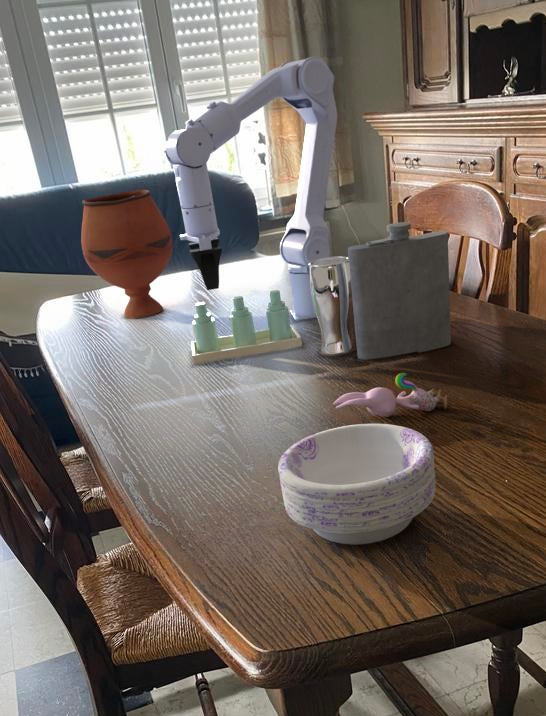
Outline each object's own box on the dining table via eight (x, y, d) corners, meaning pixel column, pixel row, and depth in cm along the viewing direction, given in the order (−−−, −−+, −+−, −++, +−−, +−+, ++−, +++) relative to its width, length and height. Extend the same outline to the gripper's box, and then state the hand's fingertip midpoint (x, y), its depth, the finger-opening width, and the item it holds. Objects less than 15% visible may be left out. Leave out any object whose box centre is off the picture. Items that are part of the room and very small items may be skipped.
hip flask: (446, 339, 125) (442, 213, 115) (455, 346, 122) (452, 216, 112) (355, 357, 123) (343, 230, 113) (362, 364, 119) (351, 233, 110)
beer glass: (330, 361, 123) (320, 267, 115) (311, 352, 128) (300, 262, 121) (366, 350, 125) (359, 258, 118) (345, 342, 131) (337, 254, 123)
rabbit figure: (433, 407, 104) (328, 410, 101) (438, 365, 101) (331, 367, 98) (449, 423, 98) (339, 426, 96) (455, 379, 96) (342, 381, 93)
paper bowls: (285, 497, 83) (275, 431, 79) (421, 478, 83) (417, 412, 79) (290, 572, 70) (278, 498, 66) (452, 551, 70) (449, 475, 66)
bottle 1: (255, 342, 136) (248, 293, 132) (258, 349, 132) (250, 298, 128) (234, 346, 136) (225, 296, 131) (235, 352, 132) (227, 301, 128)
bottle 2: (290, 337, 136) (284, 287, 132) (294, 343, 133) (287, 292, 129) (269, 340, 136) (261, 290, 132) (271, 346, 133) (264, 295, 128)
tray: (295, 334, 139) (293, 324, 138) (302, 348, 131) (301, 337, 130) (192, 351, 138) (190, 341, 137) (194, 366, 129) (191, 355, 129)
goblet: (83, 326, 165) (51, 206, 153) (131, 302, 180) (105, 191, 168) (156, 325, 158) (128, 199, 146) (200, 300, 173) (178, 184, 161)
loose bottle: (220, 349, 135) (211, 299, 131) (221, 355, 132) (212, 304, 128) (198, 352, 135) (188, 302, 131) (199, 359, 132) (189, 308, 127)
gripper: (174, 204, 136) (189, 280, 143) (175, 214, 124) (191, 296, 130) (212, 199, 137) (225, 274, 144) (217, 207, 124) (231, 290, 131)
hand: (211, 284), depth 137 cm, fingers open, 7 cm apart
